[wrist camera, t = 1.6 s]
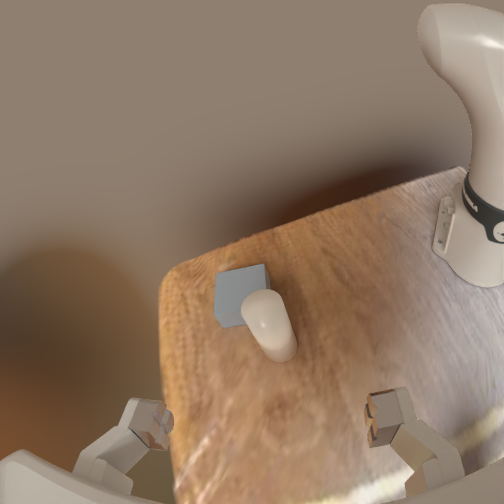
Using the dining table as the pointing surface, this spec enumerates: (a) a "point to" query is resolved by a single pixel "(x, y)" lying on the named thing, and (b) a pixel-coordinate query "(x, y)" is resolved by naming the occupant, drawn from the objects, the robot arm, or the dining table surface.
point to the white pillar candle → (270, 324)
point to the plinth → (237, 292)
